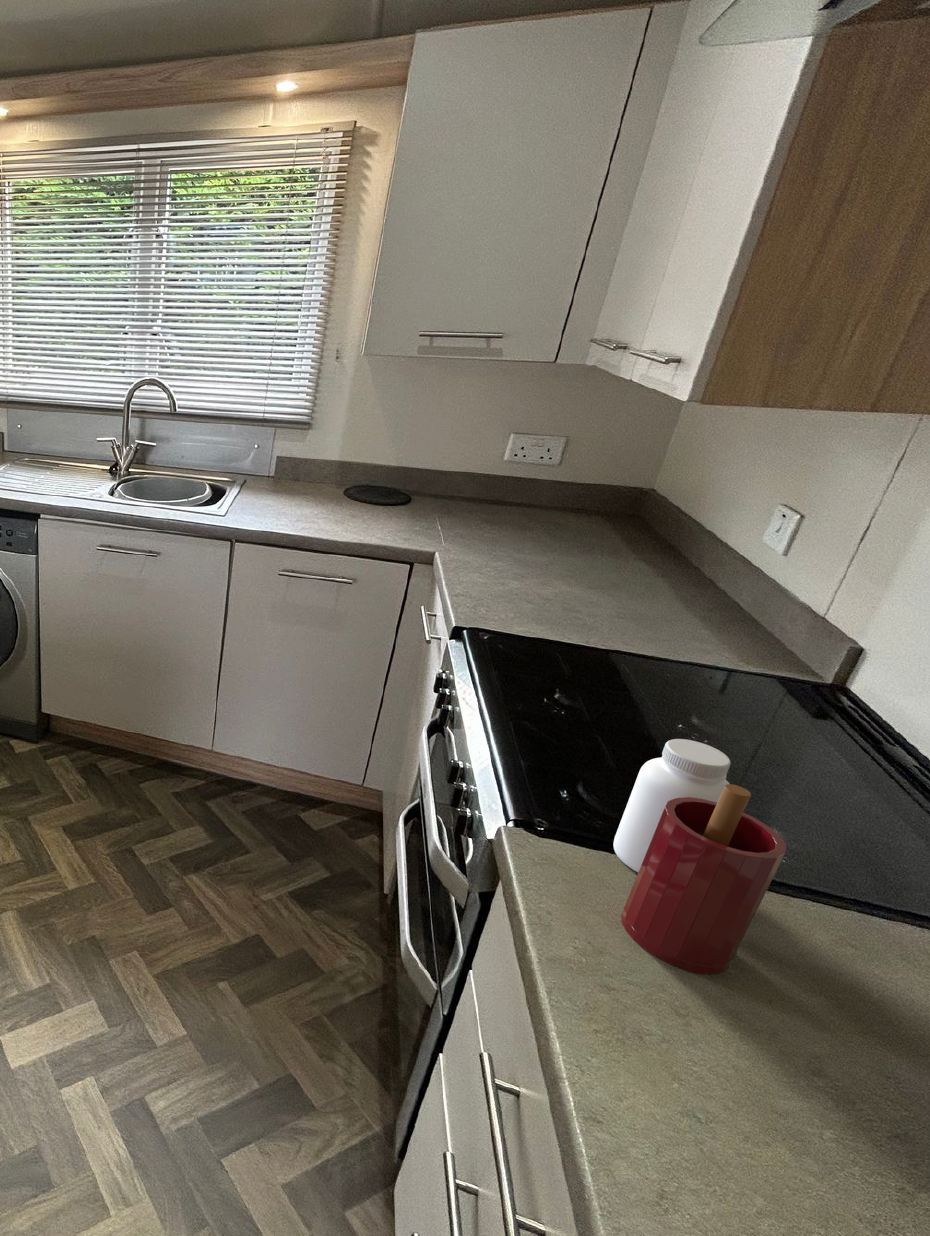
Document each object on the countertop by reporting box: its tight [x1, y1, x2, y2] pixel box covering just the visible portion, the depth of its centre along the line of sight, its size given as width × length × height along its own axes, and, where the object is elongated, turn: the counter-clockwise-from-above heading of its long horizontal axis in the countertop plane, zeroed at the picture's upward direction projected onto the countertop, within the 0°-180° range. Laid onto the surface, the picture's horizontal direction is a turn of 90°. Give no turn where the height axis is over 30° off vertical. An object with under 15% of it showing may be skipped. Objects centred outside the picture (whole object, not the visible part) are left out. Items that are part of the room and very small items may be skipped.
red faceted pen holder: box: [620, 797, 787, 975], centre depth 69 cm, size 8×8×14 cm
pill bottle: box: [612, 738, 732, 873], centre depth 78 cm, size 8×8×15 cm
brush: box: [703, 783, 752, 847], centre depth 68 cm, size 5×5×17 cm
